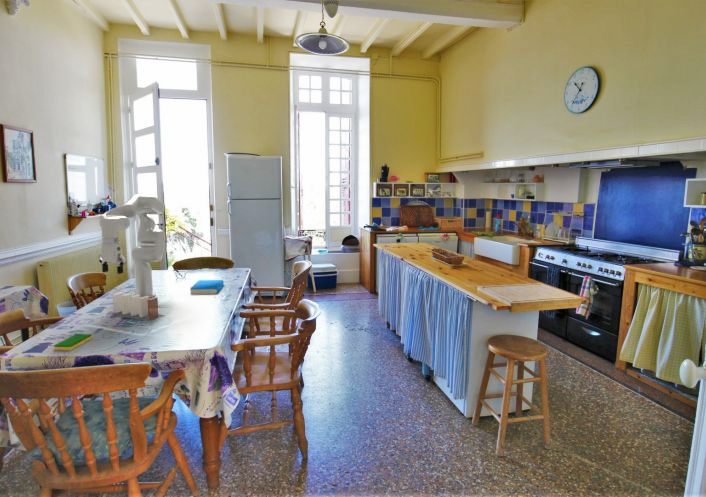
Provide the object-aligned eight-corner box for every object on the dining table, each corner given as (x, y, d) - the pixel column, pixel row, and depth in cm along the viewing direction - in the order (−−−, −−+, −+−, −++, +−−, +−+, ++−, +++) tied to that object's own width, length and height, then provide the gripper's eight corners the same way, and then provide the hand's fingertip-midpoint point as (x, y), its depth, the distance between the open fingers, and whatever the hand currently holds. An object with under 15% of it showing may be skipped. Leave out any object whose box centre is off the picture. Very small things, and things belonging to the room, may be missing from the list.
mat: (106, 315, 217) (105, 313, 217) (124, 309, 227) (124, 308, 227) (149, 323, 207) (149, 321, 207) (166, 316, 217) (166, 315, 217)
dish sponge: (54, 350, 172) (53, 345, 171) (76, 338, 185) (76, 333, 185) (70, 351, 171) (70, 345, 171) (92, 339, 185) (92, 334, 185)
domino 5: (148, 318, 211) (147, 299, 209) (156, 315, 215) (155, 297, 214) (150, 318, 210) (149, 299, 209) (158, 316, 215) (157, 297, 213)
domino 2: (122, 314, 217) (121, 295, 216) (130, 311, 222) (129, 293, 220) (124, 314, 216) (123, 295, 215) (132, 311, 221) (131, 293, 220)
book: (189, 288, 263) (198, 279, 287) (190, 295, 264) (198, 285, 288) (217, 288, 265) (223, 279, 290) (218, 294, 266) (223, 285, 291)
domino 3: (130, 315, 215) (129, 296, 214) (138, 312, 220) (137, 294, 218) (133, 315, 214) (132, 297, 213) (141, 313, 219) (140, 294, 218)
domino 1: (114, 312, 219) (112, 294, 218) (122, 310, 224) (121, 292, 222) (116, 312, 219) (115, 294, 217) (124, 310, 223) (123, 292, 222)
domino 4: (139, 317, 213) (138, 298, 211) (147, 314, 217) (146, 295, 216) (141, 317, 212) (140, 298, 211) (149, 314, 217) (148, 296, 215)
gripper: (129, 240, 218) (131, 272, 221) (103, 239, 223) (105, 270, 225) (118, 242, 211) (120, 275, 214) (91, 240, 215) (93, 272, 218)
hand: (112, 272), depth 219 cm, fingers open, 9 cm apart
